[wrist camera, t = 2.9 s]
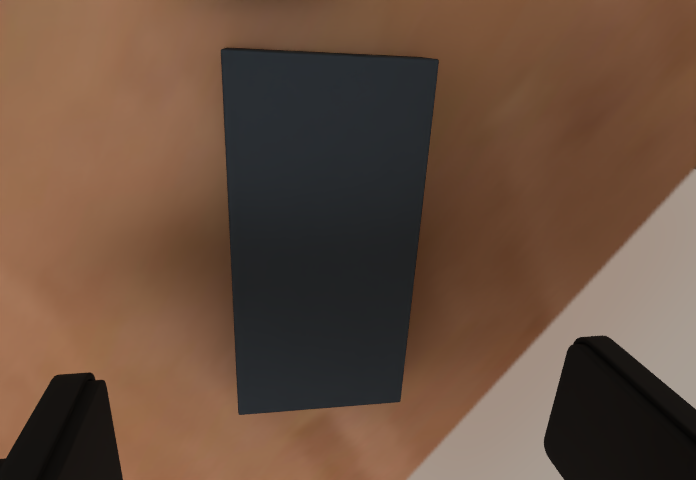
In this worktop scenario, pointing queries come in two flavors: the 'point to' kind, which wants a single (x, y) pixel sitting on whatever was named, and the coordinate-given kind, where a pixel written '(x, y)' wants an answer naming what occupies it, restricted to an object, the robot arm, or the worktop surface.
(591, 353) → the robot arm
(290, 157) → the dark blue flat block
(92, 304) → the worktop surface
